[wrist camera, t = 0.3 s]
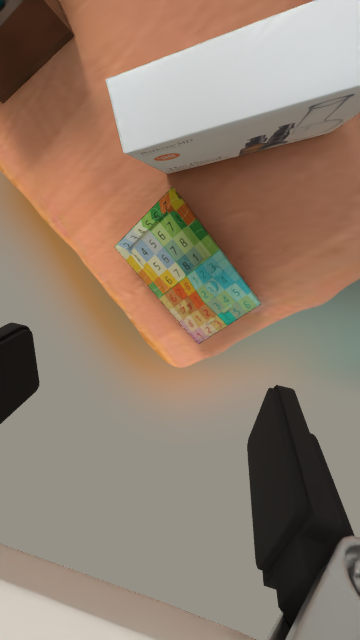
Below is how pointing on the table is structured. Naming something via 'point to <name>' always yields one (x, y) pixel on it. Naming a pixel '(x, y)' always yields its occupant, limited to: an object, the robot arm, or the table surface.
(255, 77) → the skincare box
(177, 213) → the puzzle game
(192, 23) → the table surface
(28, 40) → the chest
